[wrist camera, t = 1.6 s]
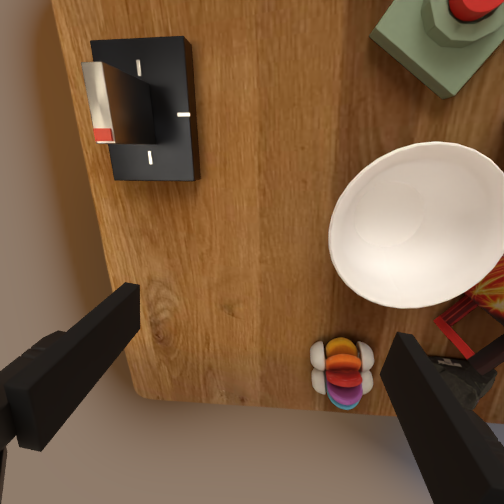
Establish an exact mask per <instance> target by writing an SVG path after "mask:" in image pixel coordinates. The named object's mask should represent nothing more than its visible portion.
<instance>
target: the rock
mask: <svg viewBox="0 0 504 504" xmlns="http://www.w3.org/2000/svg"><path fill="white" fill-rule="evenodd" d="M428 358H429V359H430V360H431V362H432V363H433V365H434V366H435V368H436V369H437V371H438V372H439V374H440V375H441V377H442V378H443V379H444V381H445V382H446V384H447V385H448V387H449V388H450V390H451V391H452V393H453V394H454V395H455V397H456V398H457V400H458V401H459V403H460V404H461V406H462V407H463V409H467V410H473V409H474V408H475V407H476V405H477V403H478V401H479V400H480V398H482V397H483V396H484V395H485V394H486V393H487V392H488V391H489V390H490V389H491V387H492V385H493V383H494V381H495V377H496V375H497V371H496V370H495V369H492V370H491V371H489V372H487V373H486V374H484V375H481V374H480V373H479V372H478V371H476V369H475V368H474V367H473V366H472V365H471V364H470V362H469V361H466V360H457V359H448V358H442V357H436V356H432V357H430V356H429V357H428Z"/></svg>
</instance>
